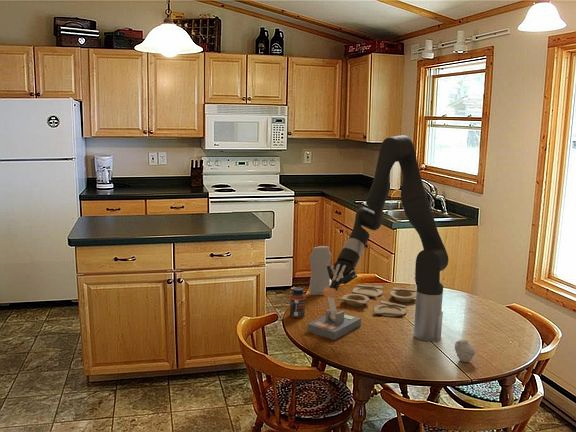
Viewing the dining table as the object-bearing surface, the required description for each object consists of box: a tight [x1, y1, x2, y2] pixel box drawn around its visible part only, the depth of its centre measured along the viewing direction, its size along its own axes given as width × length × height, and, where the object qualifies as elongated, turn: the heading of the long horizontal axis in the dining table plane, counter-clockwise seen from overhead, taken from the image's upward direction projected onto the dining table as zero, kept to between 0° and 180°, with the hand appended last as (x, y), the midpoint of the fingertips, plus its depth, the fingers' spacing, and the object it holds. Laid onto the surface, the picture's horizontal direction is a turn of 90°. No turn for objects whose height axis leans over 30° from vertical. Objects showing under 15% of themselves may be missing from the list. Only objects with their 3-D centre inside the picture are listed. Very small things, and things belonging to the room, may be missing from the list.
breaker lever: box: [323, 287, 338, 321], centre depth 205 cm, size 4×2×14 cm, turn 52°
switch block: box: [306, 308, 362, 341], centre depth 208 cm, size 12×18×7 cm, turn 142°
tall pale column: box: [309, 245, 332, 296], centre depth 246 cm, size 11×4×22 cm, turn 112°
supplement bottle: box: [289, 286, 306, 319], centre depth 220 cm, size 6×6×11 cm
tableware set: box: [338, 284, 417, 318], centre depth 240 cm, size 35×29×4 cm
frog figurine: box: [454, 339, 476, 363], centre depth 183 cm, size 6×7×7 cm
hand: (331, 291), depth 204 cm, fingers closed
